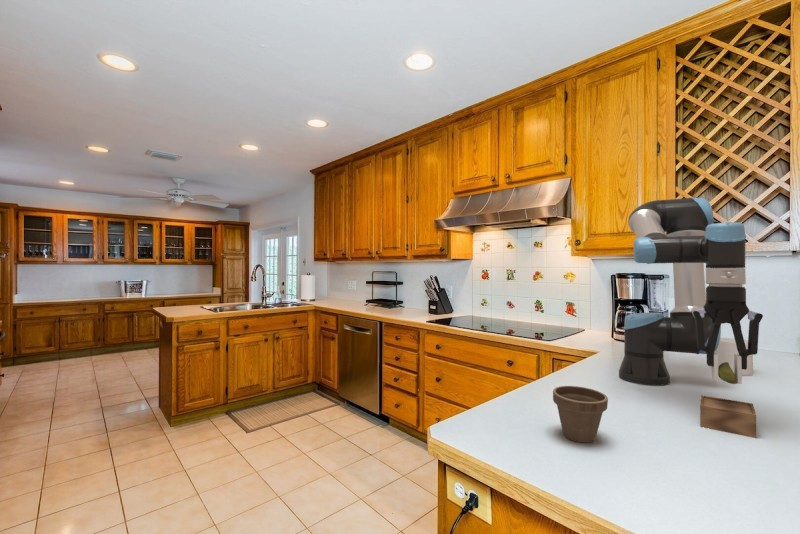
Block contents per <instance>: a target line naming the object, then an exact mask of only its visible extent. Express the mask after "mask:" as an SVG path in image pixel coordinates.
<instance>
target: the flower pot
mask: <svg viewBox="0 0 800 534" xmlns="http://www.w3.org/2000/svg"><path fill="white" fill-rule="evenodd" d="M552 400H553V403H554V404H555V405H556V408H557V413H558V415H559V421H560V426H561V428H562V430H561V431H562V432H563V435H564V436H565V437H566V438H567V439H569V440H570V441H574V442H578V443H592V442H594V440H595V439H596V437H597V435H598V434H597V433H598V432H599V431H598V430H599V428H600V424H601V421H602V417H603V413H604V412H605V411H607V409H608V404H609V403H608V402H609V401H608V400H609V398H608V396H607V395H606V394H605V393H603V392H601V391H598V390H596V389H593V388H590V387H589V388H588V387H585V386H576V385H575V386H574V385H561V386H557V387H554V389H553V391H552Z"/></svg>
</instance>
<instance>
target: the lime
mask: <svg viewBox="0 0 800 534" xmlns="http://www.w3.org/2000/svg"><path fill="white" fill-rule="evenodd" d="M718 379H720V380H722V381H723V382H726V383H728V384H731V385H737V384H738V383H737V379H736V377H735V374H734V373H733V371H732V369H731V367H730V365H729V363H728V362H724V363H722V364H720V365H719V367H718Z"/></svg>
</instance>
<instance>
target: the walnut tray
mask: <svg viewBox="0 0 800 534" xmlns="http://www.w3.org/2000/svg"><path fill="white" fill-rule="evenodd" d="M699 410H700V413H699V415H700V417H699V420H700V421H699V422H700V424H699V425H700V426H699V427H700V428H703V427H704V428H705V429H708V428H709V430H712V431H713V430H714V431H718V432H719V431H720V432H723V433H729V434H734V435H739V436H742V437H743V436H744V437H748V438H754V439H757V438H758V437H757V413H756V410H755V406H754V404H753V403H752V402H745V401H738V400H733V399H727V398H720V397H714V396H708V395H703V394H702V395H701V396H700V407H699ZM704 428H703V429H704Z"/></svg>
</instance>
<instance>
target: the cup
mask: <svg viewBox="0 0 800 534" xmlns="http://www.w3.org/2000/svg"><path fill="white" fill-rule="evenodd" d="M744 342H745V346H746V349H748V340H747V339H744ZM714 353H716V354H718V367H719V365H720V364H722V363H724V362H728V363H729V365H730V367H731V369H732V371H733V373H734V354H736V355H739V353H738V350H737V346H736V342H735V338H734V337H732V338H731V337H720V342H719V345H718V348H717V350H716V351H715V352H714ZM753 374H754V354H753V355H749V356H747V369H746V370H744V369H742V377H751V376H753Z"/></svg>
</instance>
